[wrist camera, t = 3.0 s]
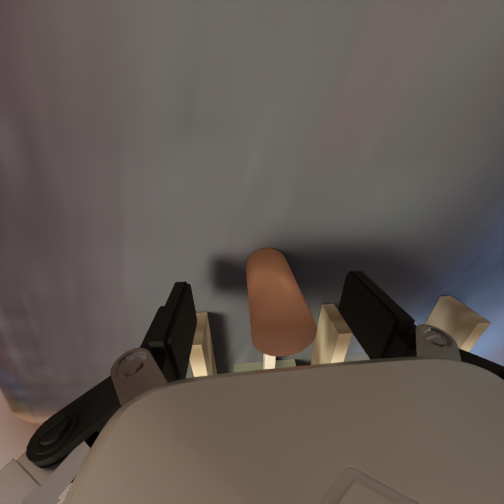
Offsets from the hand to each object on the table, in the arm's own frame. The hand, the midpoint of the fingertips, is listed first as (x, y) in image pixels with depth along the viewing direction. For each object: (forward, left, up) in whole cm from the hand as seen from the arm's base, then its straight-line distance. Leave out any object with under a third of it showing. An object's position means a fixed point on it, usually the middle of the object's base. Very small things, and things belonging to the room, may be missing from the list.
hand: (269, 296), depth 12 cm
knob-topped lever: (+8, 0, -3) cm, 8 cm away
